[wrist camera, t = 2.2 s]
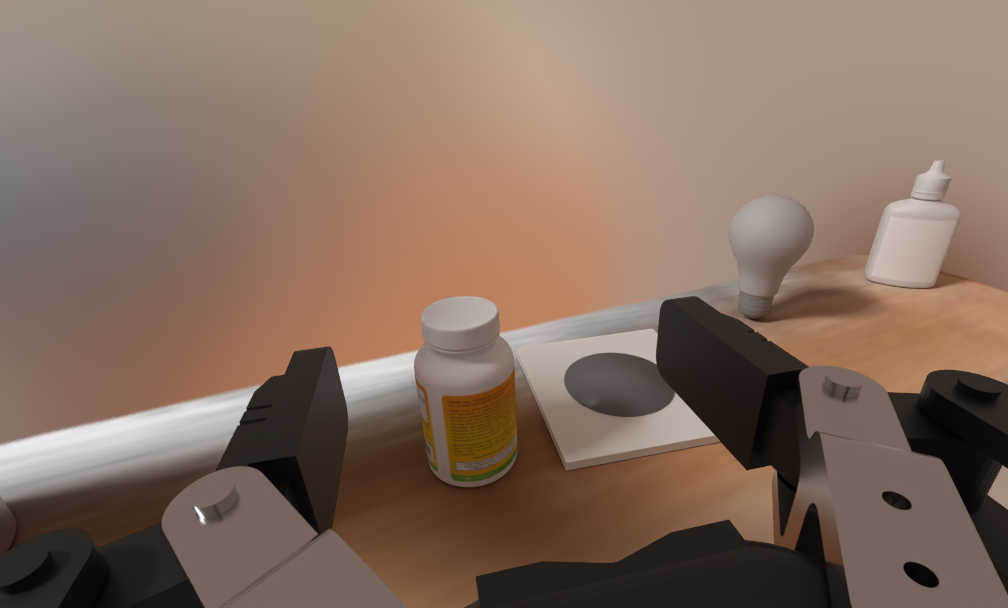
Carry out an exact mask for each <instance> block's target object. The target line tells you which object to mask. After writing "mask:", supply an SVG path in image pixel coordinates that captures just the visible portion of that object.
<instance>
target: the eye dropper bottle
mask: <svg viewBox="0 0 1008 608" xmlns="http://www.w3.org/2000/svg"><path fill="white" fill-rule="evenodd" d="M944 163H945V161H942V160H935V161H934V163H933V165H932V166H931V168H930V169H929V171H928V172H926V173H923V174H920V175H918V176H917V178H916V181H915V184H914V187H913V190H912V193H911V196H912V198H910V199H905V200H900V201H896V202H893V203H891V204H889V205H888V206H887V207H886V208H885V210H884V212H883V215H882V218H881V221H880V224H879V227H878V230H877V234H876V237H875V240H874V243H873V246H872V249H871V252H870V255H869V258H868V262H867V265H866V268H865V275H866V277H867V279H869V280H870V281H873V282H876V283H881V284H885V285H891V286H898V287H907V288H930V287H933V286H934V285H935V283H936V281H937V278H938V276H939V273H940V271H941V268H942V266H943V263H944V260H945V258H946V255H947V253H948V250H949V248H950V245H951V242H952V240H953V237H954V235H955V232H956V229H957V227H958V223H959V221H960V217H961V213H960V211H959V210H958V209H957V208H956V207H954V206H953V205H951V204H948V203H946V202H942V200H941V199H944V197H945V194H946V192H947V189H948V186H949V183H950V181H951V177H950V176H948V175H946V174H945V173H944Z"/></svg>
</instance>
